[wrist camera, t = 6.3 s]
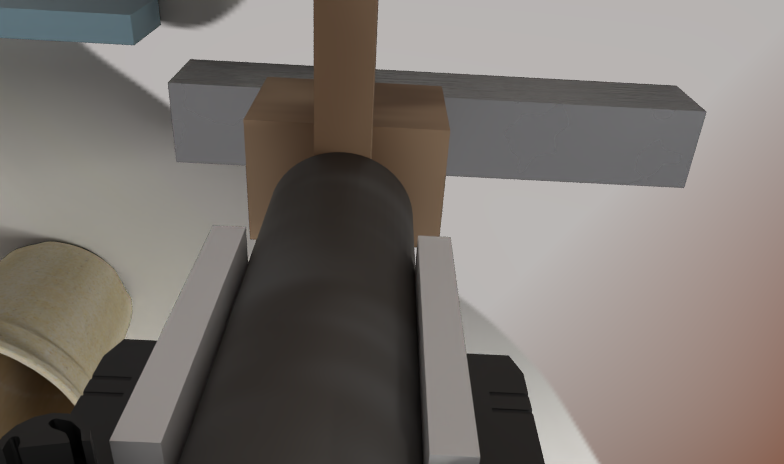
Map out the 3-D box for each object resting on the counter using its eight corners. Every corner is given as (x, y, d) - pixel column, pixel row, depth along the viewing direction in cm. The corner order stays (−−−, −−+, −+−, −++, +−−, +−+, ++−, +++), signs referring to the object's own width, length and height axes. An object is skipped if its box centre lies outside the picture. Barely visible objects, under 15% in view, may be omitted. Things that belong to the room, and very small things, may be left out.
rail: (676, 85, 27) (706, 111, 24) (657, 156, 28) (684, 187, 26) (190, 59, 26) (167, 82, 24) (197, 132, 28) (176, 162, 25)
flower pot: (174, 381, 35) (113, 530, 27) (-15, 366, 34) (-131, 514, 27) (161, 218, 30) (83, 343, 22) (-58, 199, 30) (-214, 320, 22)
